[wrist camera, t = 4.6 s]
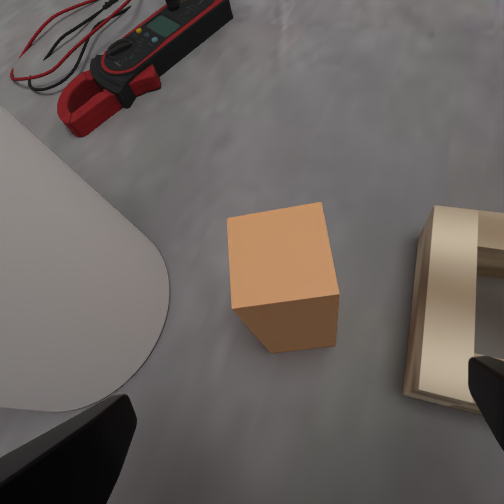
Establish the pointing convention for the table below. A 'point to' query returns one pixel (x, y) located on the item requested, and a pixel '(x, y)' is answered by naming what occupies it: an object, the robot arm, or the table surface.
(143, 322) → the cylinder
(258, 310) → the square bit
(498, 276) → the socket block
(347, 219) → the table surface
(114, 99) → the digital clamp meter
